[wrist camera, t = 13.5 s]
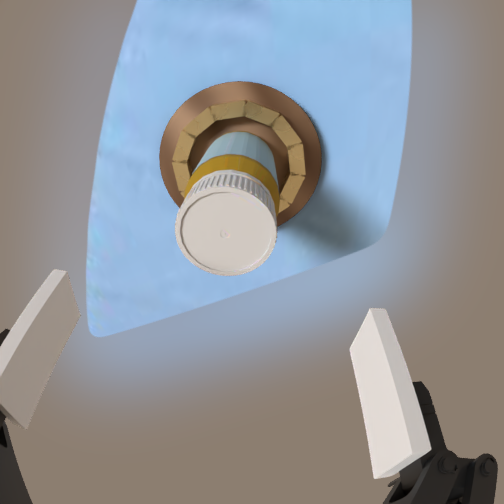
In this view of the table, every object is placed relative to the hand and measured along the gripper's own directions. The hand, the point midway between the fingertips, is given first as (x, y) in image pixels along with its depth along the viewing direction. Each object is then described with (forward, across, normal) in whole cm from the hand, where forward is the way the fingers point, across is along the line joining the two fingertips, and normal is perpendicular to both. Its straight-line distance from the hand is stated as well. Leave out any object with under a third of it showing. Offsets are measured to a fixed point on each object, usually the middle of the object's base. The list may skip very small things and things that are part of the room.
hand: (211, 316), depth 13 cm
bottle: (+22, 0, 0) cm, 22 cm away
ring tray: (+23, 0, 0) cm, 23 cm away
